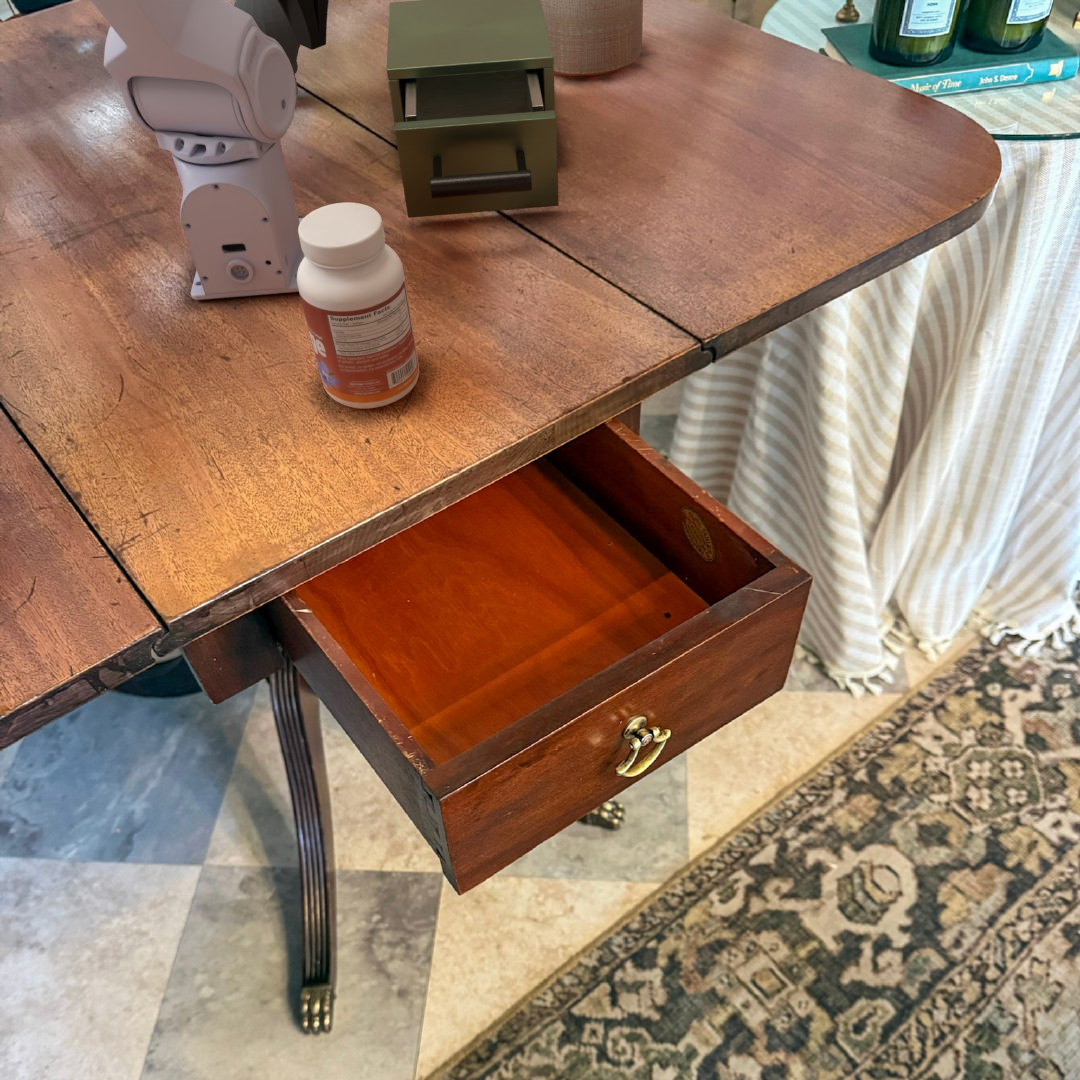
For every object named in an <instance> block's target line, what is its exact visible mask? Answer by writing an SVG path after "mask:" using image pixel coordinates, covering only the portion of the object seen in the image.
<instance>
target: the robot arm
mask: <svg viewBox="0 0 1080 1080" xmlns="http://www.w3.org/2000/svg"><path fill="white" fill-rule="evenodd" d="M90 2H91V3H92V4H93V5H94V6H95V8H96V9H97V10H98V12H99V13H100V14H101V16H103V18H104V20H106V22H107V23H108V24H109V25H110V26H109V28H108V30H107V35H106V38H105V43H104V54H103V57H104V58H103V67H104V68H105V70H106V71H107V72H108V74H110V76H111V77H112V78H113V80H114V81H115V82H116V84H117V87H118V88H119V90H120V93H121V96H122V99H123V101H124V104H125V106H126V108H127V110H128V112H129V114H130V116H131V117H132V119H133V120H134V122H135V123H136V124H137V125H138V126H139V127H140V128H142V129H143V130H145V131H146V132H149V133H152V134H153V133H154V135H155V138H156V141H157V144H158V147H159V149H160V150H163V151H167V152H170V153H171V157H172V159H173V162H174V166H175V169H176V172H177V174H178V175H177V176H178V178H179V181H180V185H181V186H182V196H181V202H180V209H179V218H180V224H181V227H182V230H183V233H184V237H185V239H186V242H187V245H188V248H189V251H190V254H191V257H192V261H193V264H194V267H195V268H196V271H195V273H194V278H193V282H192V285H191V290H190V296H191V298H192V299H193V300H196V301H202V300H203V301H204V300H213V299H214V300H215V299H225V298H226V299H227V298H228V299H229V298H237V297H238V298H239V297H251V296H262V295H276V294H286V293H288V294H289V293H299V289H298V284H297V272H298V268H299V266H300V263H301V261H302V260H303V258H304V257H305V256H304V253H303V251H302V248H301V243H300V238H299V233H298V227H299V224H300V222H301V221H302V220H303V218H304V217H299V213H298V210H297V206H296V201H295V197H294V193H293V189H292V184H291V181H290V175H289V172H288V167H287V164H286V159H285V156H284V151H283V147H282V143H281V140H282V139H283V137H284V136H285V135H286V133H287V132H288V130H289V128H290V126H291V124H292V122H293V120H294V116H295V113H296V106H297V96H296V83H295V78H296V76H295V77H294V72H293V69H292V66H291V63H290V61H289V59H288V57H287V55H286V53H285V52H284V50H283V48H282V47H281V45H280V44H279V43H278V42H277V41H276V40H275V39H273V38H271V37H269V36H267V35H265V34H264V33H263V32H262V31H261V30H260V29H259V27H258V26H257V24H256V22H255V21H254V19H253V17H252V16H251V15H249V14H248V13H246V12H244V11H242V10H241V9H239V8H237V7H235V6H234V5H233V4H231V3H230V2H228V1H225V0H90ZM278 2H279V4H280V6H281V7H282V9H283V11H284V13H285V16H286V18H287V20H288V22H289V24H290V26H291V29H292V31H293V33H294V36H295V38H296V41H297V43H298V44H300V46H302V47H304V48H306V49H309V50H317V49H319V48H321V47H324V46H326V45H327V30H328V29H327V26H328V12H329V11H328V10H329V0H278Z"/></svg>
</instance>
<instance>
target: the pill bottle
mask: <svg viewBox="0 0 1080 1080" xmlns="http://www.w3.org/2000/svg"><path fill="white" fill-rule="evenodd" d="M302 218H303V220H302V221H301V222H300V224H299V227H298V233H299V238H300V243H301V248H302V251H303V253H304V256H305V257H304V258H303V260H302V261H301V263H300V266H299V268H298V272H297V284H298V289H299V292H298V294H299V298H300V301H301V305H302V309H303V313H304V317H305V321H306V325H307V328H308V332H309V336H310V341H311V345H312V348H313V351H314V357H315V361H316V363H317V366H318V368H317V369H318V371H319V377H320V380H321V383H322V385H323V386H322V387H323V388H324V390H325V391H326V393H327V395H328V396H329V397H330V398H331V399H333V400H334V401H335V402H337V403H339V404H341V405H344V406H346V407H349V408H354V409H360V410H361V409H362V410H363V409H364V410H366V409H375V408H380V407H384V406H388V405H390V404H392V403H395V402H397V401H399V400H400V399H403V398H404V397H405V396H406V395H408V394H409V393H411V391H412V390H413V389H414V387H415V386H416V385H417V382H418V379H419V376H420V365H419V364H420V363H419V356H418V351H417V345H416V337H415V332H414V327H413V321H412V315H411V314H412V313H411V309H410V301H409V295H408V290H407V289H408V288H407V283H406V276H405V271H404V266H403V263H402V260H401V258H400V257H399V255H398V254H397V252H396V251H395V250H394V249H393V248H392V247H390V245H388V244H387V243H386V233H385V229H384V223H383V218H382V216H381V214H380V213H379V212H378V211H377V210H376V209H375V208H373V207H372V206H370V205H367V204H364V203H359V202H346V201H345V202H336V203H331V204H328V205H323V206H321V207H319V208H316V209H314V210H312V211H310V212H309V213H308V214H307V215H305V216H304V217H302Z"/></svg>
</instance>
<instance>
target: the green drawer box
mask: <svg viewBox="0 0 1080 1080" xmlns="http://www.w3.org/2000/svg"><path fill="white" fill-rule="evenodd" d="M388 6H389V7H388V26H387V27H388V28H387V48H386V49H387V50H386V52H387V53H386V76H387V81H388V89H389V96H390V101H391V103H390V104H391V109H392V116H393V123H394V124H395V123H397V122H406V117H405V111H406V79H407V78H420V77H433V76H446V75H459V74H472V73H485V72H498V71H511V70H524V69H536V71H537V76H538V81H539V86H540V91H541V96H542V101H543V108H544V111H551V110H554V111H555V112H556V95H555V93H556V92H555V74H554V57H553V53H552V49H551V44H550V40H549V36H548V31H547V27H546V22H545V18H544V14H543V9H542V5H541V1H540V0H407V1H406V0H405V1H391V2H389V5H388Z"/></svg>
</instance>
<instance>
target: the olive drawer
mask: <svg viewBox="0 0 1080 1080" xmlns="http://www.w3.org/2000/svg"><path fill="white" fill-rule="evenodd" d="M405 117H406V122H397V123H394V133H395V141H396V147H397V155H398V161H399V167H400V174H401V181H402V187H403V193H404V200H405V201H404V202H405V207H406V214H407V218H408V219H409V218H410V219H411V218H423V217H435V216H448V215H449V216H450V215H461V214H472V213H473V214H474V213H485V212H498V211H510V210H511V211H512V210H523V209H534V208H535V209H537V208H548V207H558V206H559V205H560V203H559V202H560V199H559V167H558V166H559V165H558V131H557V128H558V127H557V115H556V110H555V111H554V110H551V111H544V108H543V101H542V96H541V91H540V86H539V81H538V76H537V71H536V69H524V70H511V71H498V72H485V73H472V74H459V75H446V76H433V77H420V78H407V79H406V111H405Z"/></svg>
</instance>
